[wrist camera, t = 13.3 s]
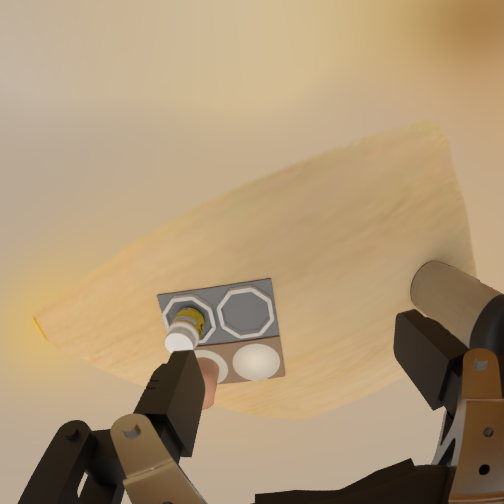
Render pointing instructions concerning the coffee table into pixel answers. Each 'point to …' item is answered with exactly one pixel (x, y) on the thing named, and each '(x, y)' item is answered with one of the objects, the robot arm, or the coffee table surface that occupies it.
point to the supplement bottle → (185, 329)
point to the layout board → (232, 332)
